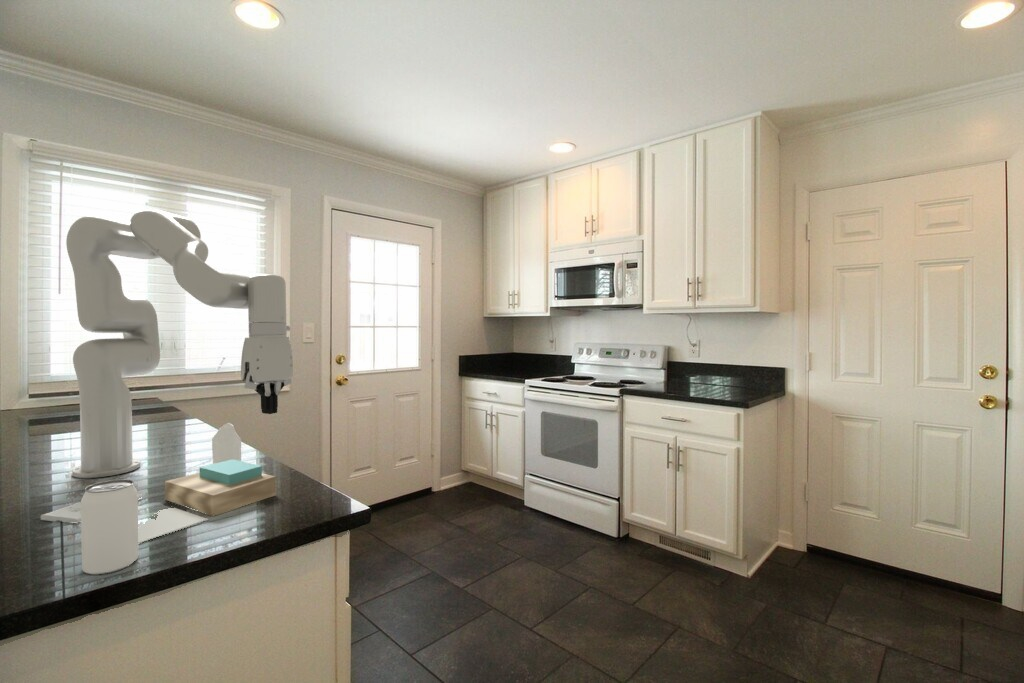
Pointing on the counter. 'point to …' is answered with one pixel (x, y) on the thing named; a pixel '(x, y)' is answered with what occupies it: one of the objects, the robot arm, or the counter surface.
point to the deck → (218, 493)
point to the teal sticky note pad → (230, 471)
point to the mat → (167, 523)
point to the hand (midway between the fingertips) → (269, 412)
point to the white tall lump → (226, 444)
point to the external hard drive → (67, 513)
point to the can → (109, 526)
